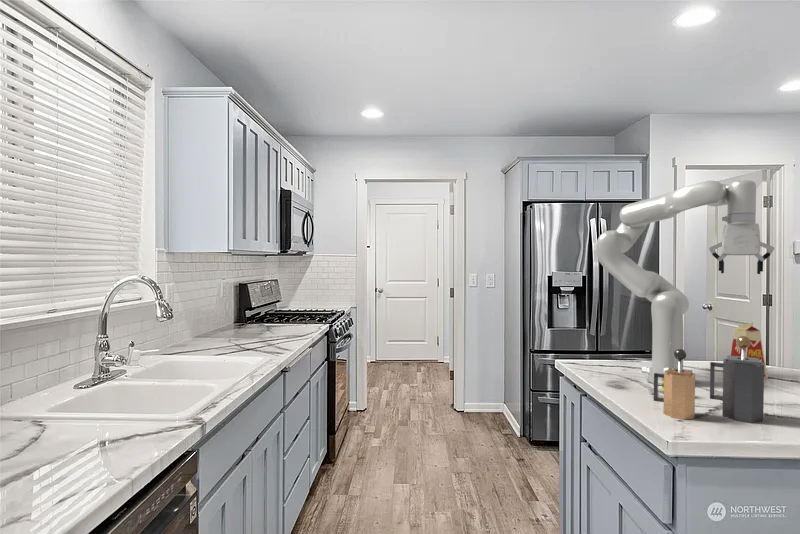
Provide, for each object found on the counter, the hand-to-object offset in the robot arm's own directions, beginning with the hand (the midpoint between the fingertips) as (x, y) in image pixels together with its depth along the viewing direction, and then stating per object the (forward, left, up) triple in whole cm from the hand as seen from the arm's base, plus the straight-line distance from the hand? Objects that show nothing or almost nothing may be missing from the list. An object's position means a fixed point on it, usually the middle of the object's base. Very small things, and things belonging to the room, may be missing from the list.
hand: (740, 273), depth 162 cm
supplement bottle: (-11, -22, -38) cm, 46 cm away
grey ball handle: (0, -41, -38) cm, 56 cm away
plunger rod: (+11, -29, -37) cm, 48 cm away
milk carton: (-8, +31, -38) cm, 50 cm away
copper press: (-1, -41, -38) cm, 56 cm away
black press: (+9, -29, -38) cm, 49 cm away
